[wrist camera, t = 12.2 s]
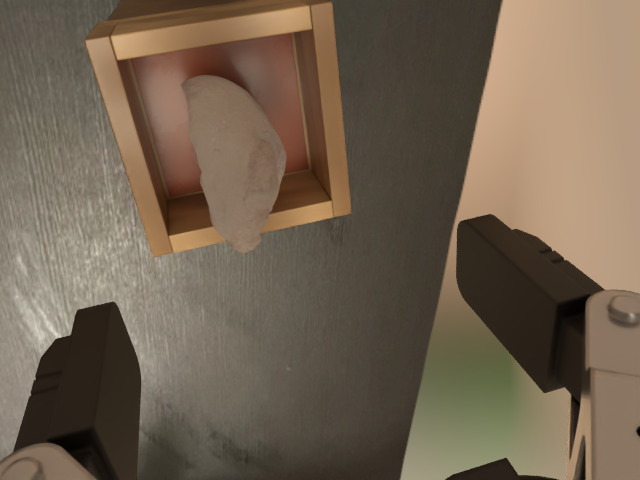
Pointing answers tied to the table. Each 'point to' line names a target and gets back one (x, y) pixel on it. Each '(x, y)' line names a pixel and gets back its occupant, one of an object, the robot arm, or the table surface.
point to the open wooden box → (245, 71)
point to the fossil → (234, 157)
